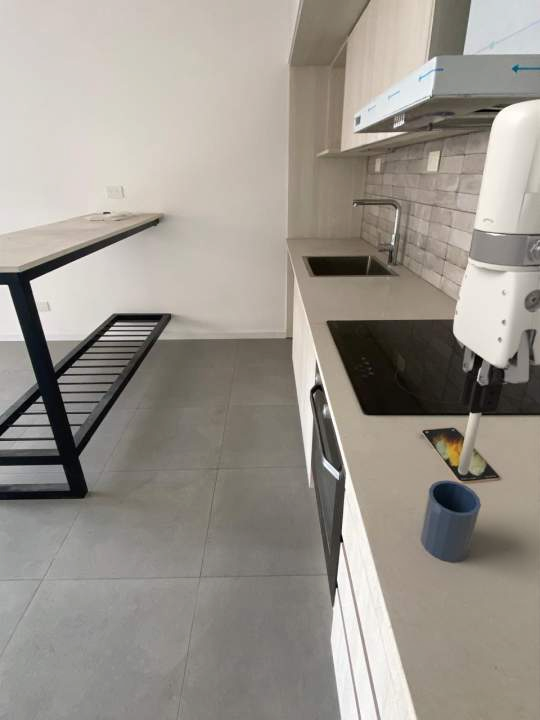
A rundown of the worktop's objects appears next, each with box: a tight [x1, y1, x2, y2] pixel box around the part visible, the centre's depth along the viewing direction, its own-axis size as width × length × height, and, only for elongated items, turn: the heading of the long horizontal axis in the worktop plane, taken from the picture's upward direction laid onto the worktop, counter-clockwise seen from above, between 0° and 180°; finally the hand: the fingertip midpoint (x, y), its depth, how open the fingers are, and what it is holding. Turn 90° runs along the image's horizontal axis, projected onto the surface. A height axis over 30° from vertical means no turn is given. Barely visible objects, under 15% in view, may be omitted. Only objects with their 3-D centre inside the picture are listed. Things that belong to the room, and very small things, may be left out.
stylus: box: [458, 368, 483, 476], centre depth 48 cm, size 1×1×16 cm
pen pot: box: [420, 479, 482, 563], centre depth 54 cm, size 6×6×9 cm
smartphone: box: [421, 427, 500, 484], centre depth 73 cm, size 7×1×15 cm
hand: (477, 406), depth 47 cm, fingers closed on stylus, 1 cm apart
